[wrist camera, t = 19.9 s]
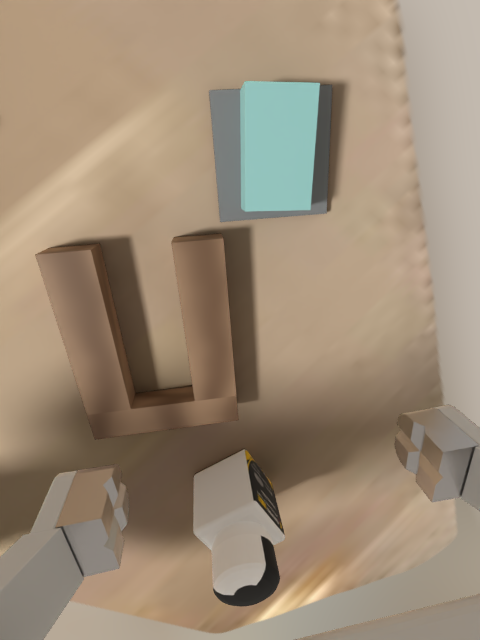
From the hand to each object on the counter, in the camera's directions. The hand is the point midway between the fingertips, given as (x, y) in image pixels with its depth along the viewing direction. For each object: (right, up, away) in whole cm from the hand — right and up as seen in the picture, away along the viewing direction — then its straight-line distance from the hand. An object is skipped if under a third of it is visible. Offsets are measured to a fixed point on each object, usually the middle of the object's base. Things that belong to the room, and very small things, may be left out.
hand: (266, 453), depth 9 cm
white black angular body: (-2, -15, +30) cm, 34 cm away
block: (+2, +17, +16) cm, 23 cm away
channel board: (-9, +2, +21) cm, 23 cm away
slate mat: (+2, +17, +16) cm, 23 cm away
